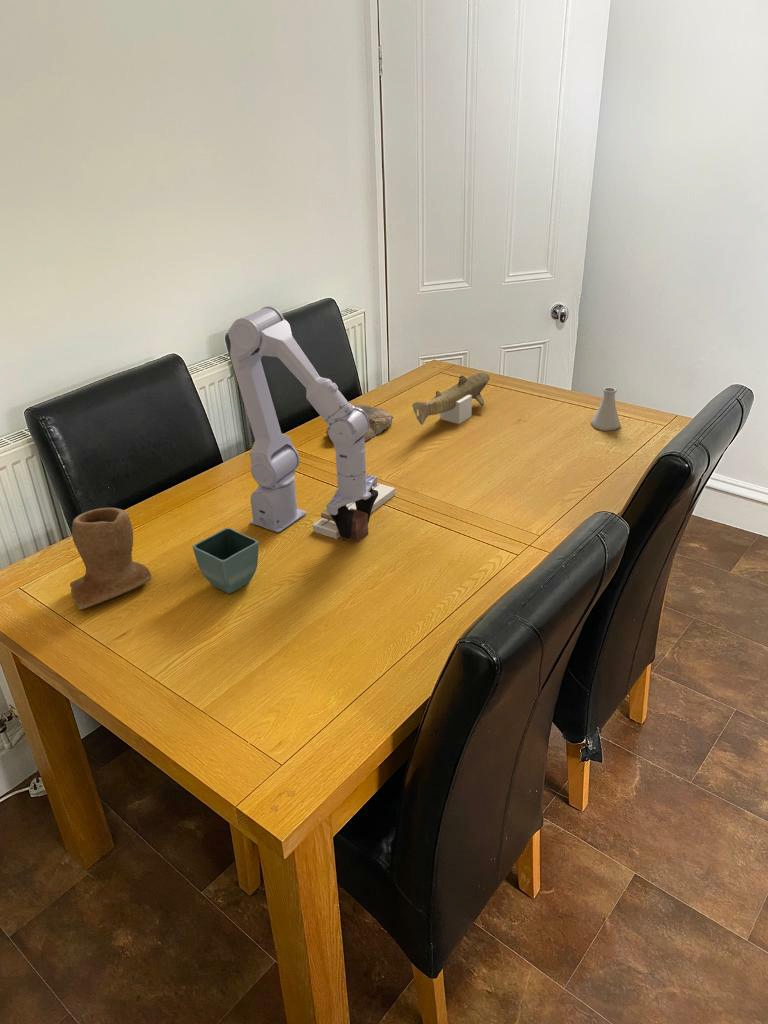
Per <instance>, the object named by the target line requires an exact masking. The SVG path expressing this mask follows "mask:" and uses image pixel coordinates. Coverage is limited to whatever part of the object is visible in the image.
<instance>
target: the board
mask: <svg viewBox="0 0 768 1024" xmlns="http://www.w3.org/2000/svg"><path fill="white" fill-rule="evenodd" d="M372 489H373V490H377V491H378V497H377V498H376V500H375V502H374V505H373V507H372V511H371V514H372V513H373V512H375V510H377V509H378V508H380V507H381V506H382V505H384V504H385V503H386V502H387V501H389V500H390V499H392V498H393V497H394V496H396V488H395V487H393V486H388V485H385V484H382V483H378V482H377V485H376V486H375V487H373V486H372ZM346 506H347V507H348V509H349V510H350V509H351V508H352V509H355V510H356V505H355V502H353V503H350V504H347V505H346ZM312 531H313V532H314V533H318V534H320V535H323V536H325V537H329V538H332V539H335V540H338V539H339V538H341V537H340V534H339V531H338V528H337V526H336V524H335V522H333V521H330V520H327V519H324V518H321V517H320V519H319V520H317V521H315V522H314V523H313V524H312Z"/></svg>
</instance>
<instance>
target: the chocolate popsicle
mask: <svg viewBox="0 0 768 1024" xmlns="http://www.w3.org/2000/svg"><path fill="white" fill-rule="evenodd" d="M350 510H352V511H355V513H354V515H353V518H352V523H351V536H350V538H349V539H346V538H343V537H340V538H341V539H344V540H346V541H350V542H352V543H356V544H358V543H359V542H360V541H362V540H363V539H365V538H366V537H367V536H368V535H369V523H368V514H367V513H365V512H362V511H359V510H355V509H352V508H351V509H350ZM321 518H324V519H327V520H330V521H333V522H334V520H333V518H332V517H331V515H330V514H329V513H327V509H326V510H322V511H320V519H321Z"/></svg>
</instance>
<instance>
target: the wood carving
mask: <svg viewBox="0 0 768 1024" xmlns="http://www.w3.org/2000/svg"><path fill="white" fill-rule="evenodd" d="M490 378H491V377H490V375H489V374H488V373H485V372H480V373H479V372H478V373H475V374H473V375H471V376H469V377H465V376H464V375H459V377H458V383H456V384H455V385H453V386H451V387H449V388H447V389H445V390H443V391H442V392H440V390H437V391H435V396H434V397H432V398H431V399H430V400H429V401H420V400H417V401H413V403H412V408H413V413H414V415H415V417H416V419H417V421H418V422H419V424H420V425H422V426H423V425H424V424H425V421H426V419H427V418H428V417H429V416H436V415H439V419H440V420H442V419H443V420H442V421H447V422H449V423H454V424H458V425H460V424H461V423H464V422H465V421H466V420H468V419H470V418H471V417H472V411H473V410H472V407H473V403H472V402H473V399H475V400H476V401H477V402H478V403H479V405H480V406H481V407H483V406H484V405H485V401H484V399H483V396H482V395H481V393H482V391H483V390H484V388H485V387H486V386H487V384H488V382H489V380H490Z"/></svg>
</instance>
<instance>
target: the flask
mask: <svg viewBox="0 0 768 1024" xmlns="http://www.w3.org/2000/svg"><path fill="white" fill-rule="evenodd" d="M602 391H603V395H602V396H603V397H602V399H601V402H600V405H599V407H598V408H597V410H596V412H595V414H594V415H593V418H592V419H591V421H590V424H591V426H592V427H593V428H595V429H597V430H599V431H600V430H601V431H603V432H605V431H614V430H618V429H619V428H621V422H620V418H619V415H618V411H617V408H616V407H617V406H616V401H615V400H616V398H615V397H616V393H617V392H618V390H617V389H616V388H615V387H611V386H608V387H607V386H606V387H604V388H602Z"/></svg>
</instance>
